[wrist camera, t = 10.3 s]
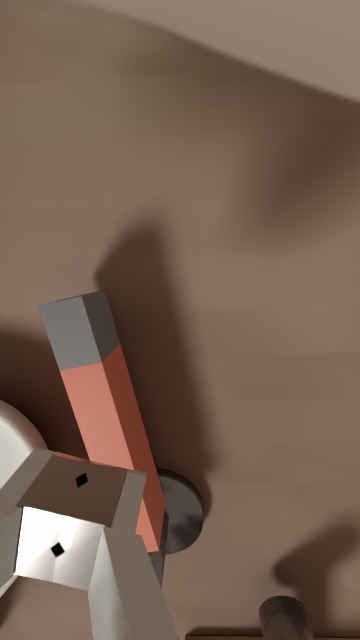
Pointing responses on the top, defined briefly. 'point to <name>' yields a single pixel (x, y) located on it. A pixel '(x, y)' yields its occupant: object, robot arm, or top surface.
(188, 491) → the lever base
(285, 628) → the hook rod
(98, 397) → the latch lever
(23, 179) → the top surface
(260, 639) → the eye block
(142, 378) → the top surface
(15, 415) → the spoon rest
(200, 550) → the top surface
